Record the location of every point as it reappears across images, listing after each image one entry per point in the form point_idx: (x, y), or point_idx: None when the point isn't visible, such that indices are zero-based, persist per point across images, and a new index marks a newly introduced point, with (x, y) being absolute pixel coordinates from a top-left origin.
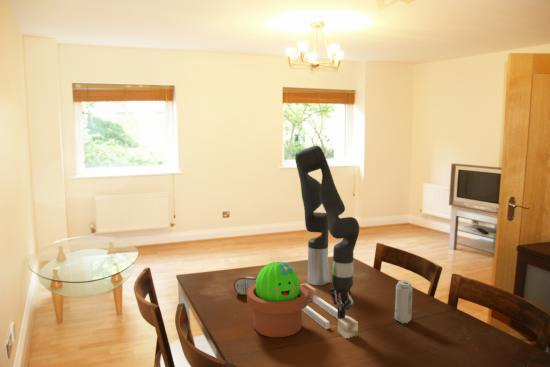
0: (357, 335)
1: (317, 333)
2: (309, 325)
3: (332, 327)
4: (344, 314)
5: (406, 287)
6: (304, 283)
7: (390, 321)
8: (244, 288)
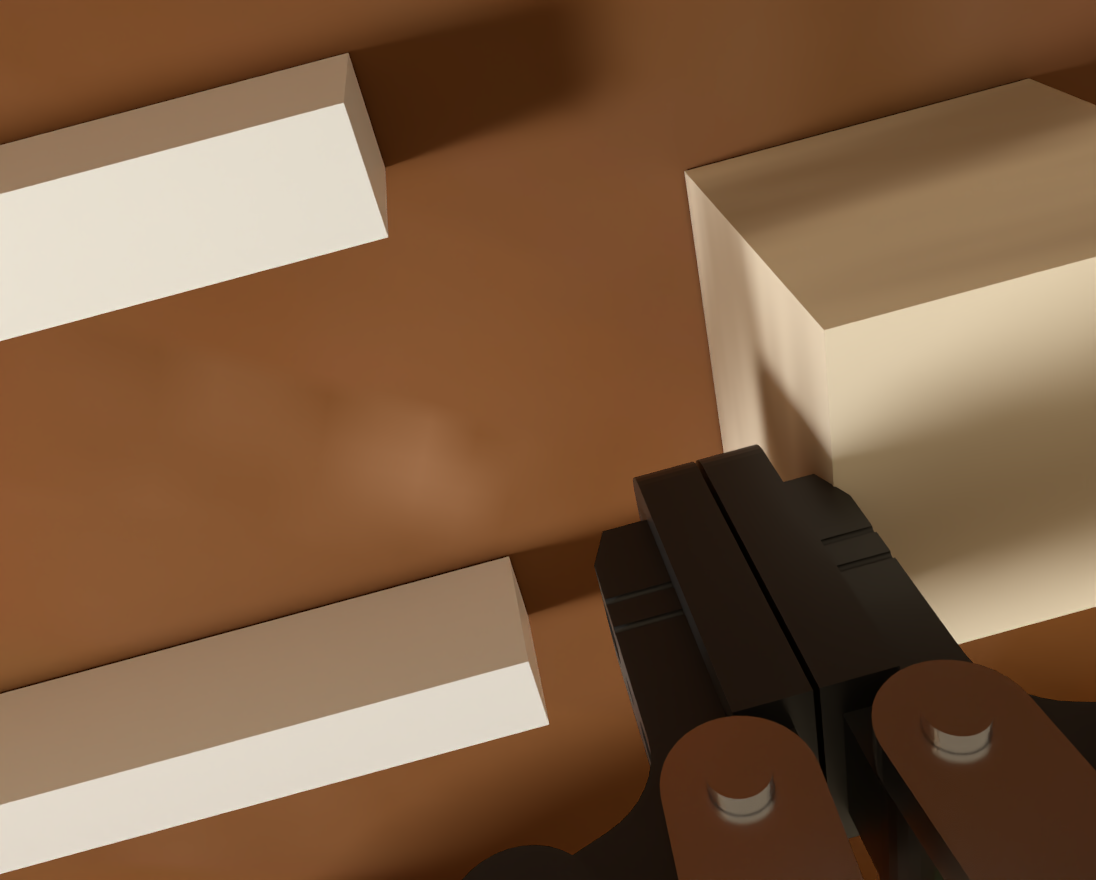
0: (1030, 81)
1: (637, 746)
2: (326, 812)
3: (482, 492)
4: (901, 589)
5: None
6: None
7: None
8: None
